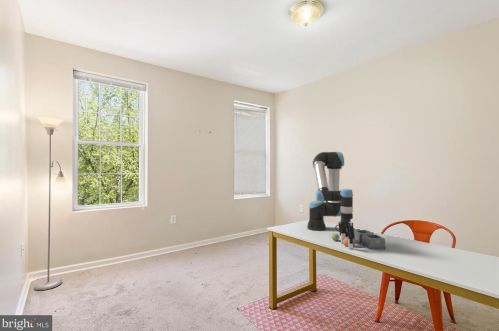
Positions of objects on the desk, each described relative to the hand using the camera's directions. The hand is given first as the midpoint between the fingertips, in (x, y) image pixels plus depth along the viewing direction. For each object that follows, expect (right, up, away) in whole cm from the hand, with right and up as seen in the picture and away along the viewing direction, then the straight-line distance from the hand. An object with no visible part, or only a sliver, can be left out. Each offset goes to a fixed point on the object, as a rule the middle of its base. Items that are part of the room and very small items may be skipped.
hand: (346, 245), depth 168 cm
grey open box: (+17, 0, -1) cm, 17 cm away
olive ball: (-4, 0, +12) cm, 12 cm away
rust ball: (0, 0, 0) cm, 0 cm away
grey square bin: (+16, 0, +11) cm, 19 cm away
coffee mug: (+6, 0, +24) cm, 25 cm away
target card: (+7, 0, +4) cm, 8 cm away
